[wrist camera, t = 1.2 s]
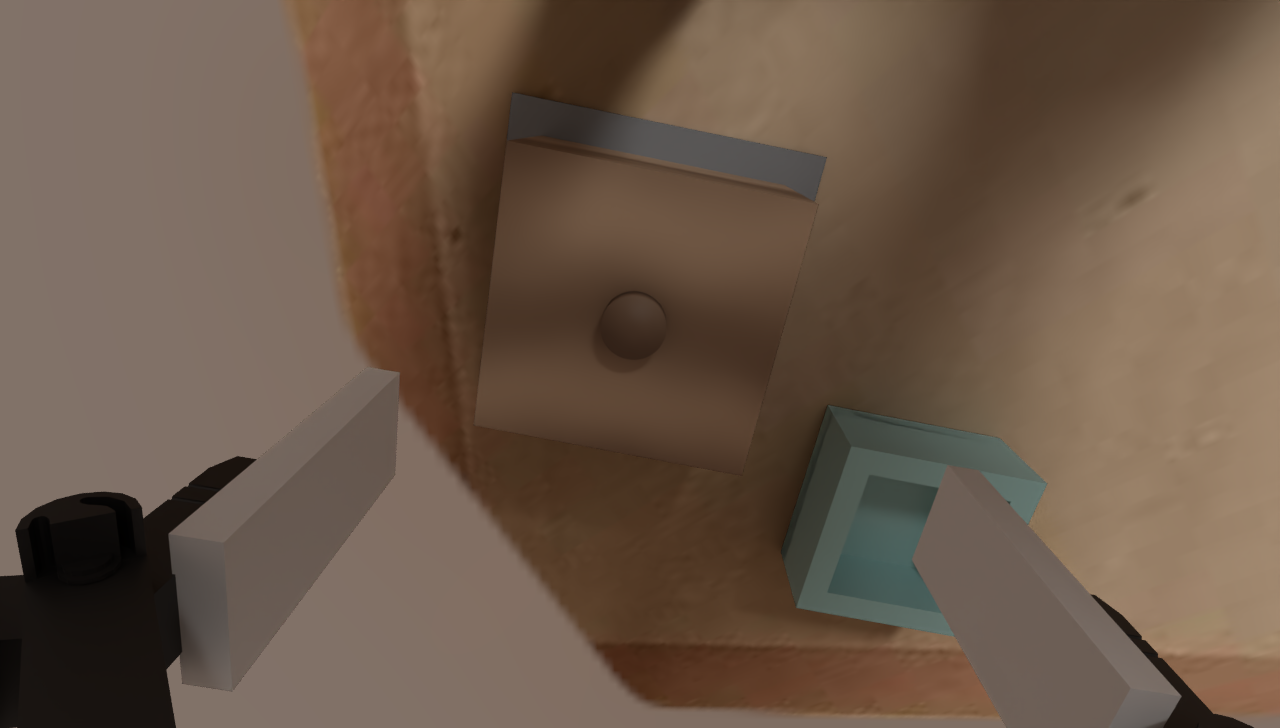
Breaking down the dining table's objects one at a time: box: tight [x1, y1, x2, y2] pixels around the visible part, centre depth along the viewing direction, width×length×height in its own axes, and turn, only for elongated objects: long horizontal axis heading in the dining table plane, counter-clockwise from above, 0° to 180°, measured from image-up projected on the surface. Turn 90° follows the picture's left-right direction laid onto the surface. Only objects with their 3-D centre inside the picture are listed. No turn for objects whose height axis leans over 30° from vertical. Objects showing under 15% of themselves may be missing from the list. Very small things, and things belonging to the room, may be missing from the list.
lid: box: [474, 135, 819, 476], centre depth 28 cm, size 11×11×8 cm
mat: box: [507, 93, 827, 201], centre depth 32 cm, size 14×14×1 cm
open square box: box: [781, 405, 1047, 637], centre depth 33 cm, size 9×9×4 cm
